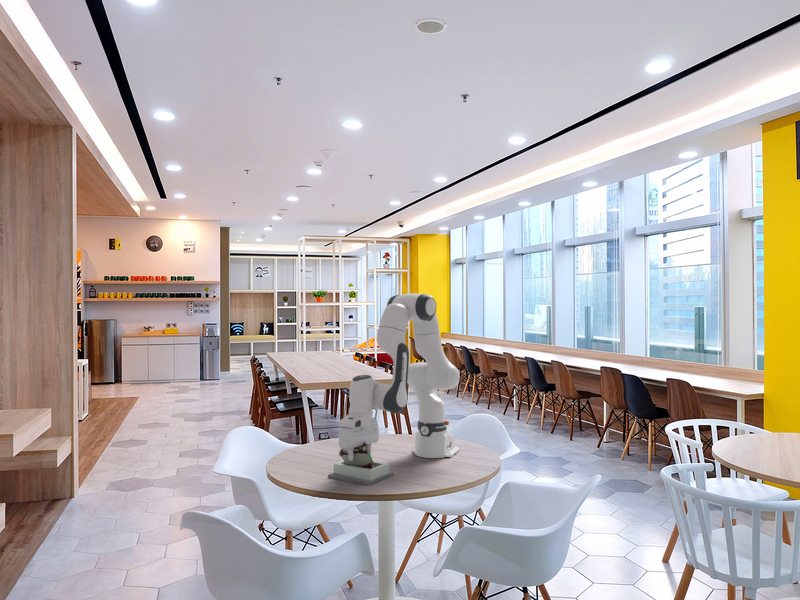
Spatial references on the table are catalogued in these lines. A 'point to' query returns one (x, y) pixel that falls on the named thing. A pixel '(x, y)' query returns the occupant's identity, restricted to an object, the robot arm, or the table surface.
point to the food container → (359, 457)
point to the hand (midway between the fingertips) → (359, 457)
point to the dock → (361, 473)
